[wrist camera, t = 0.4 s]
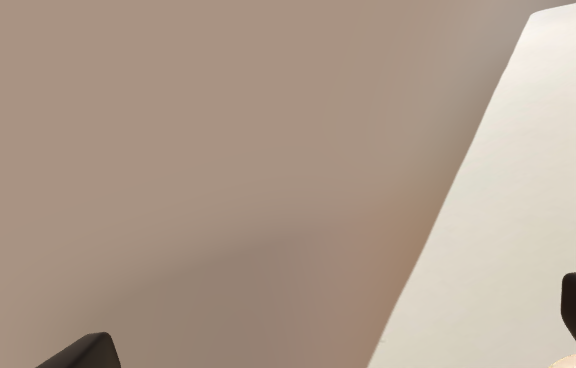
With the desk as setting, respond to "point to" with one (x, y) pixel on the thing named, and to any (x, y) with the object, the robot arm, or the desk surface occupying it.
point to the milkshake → (565, 362)
